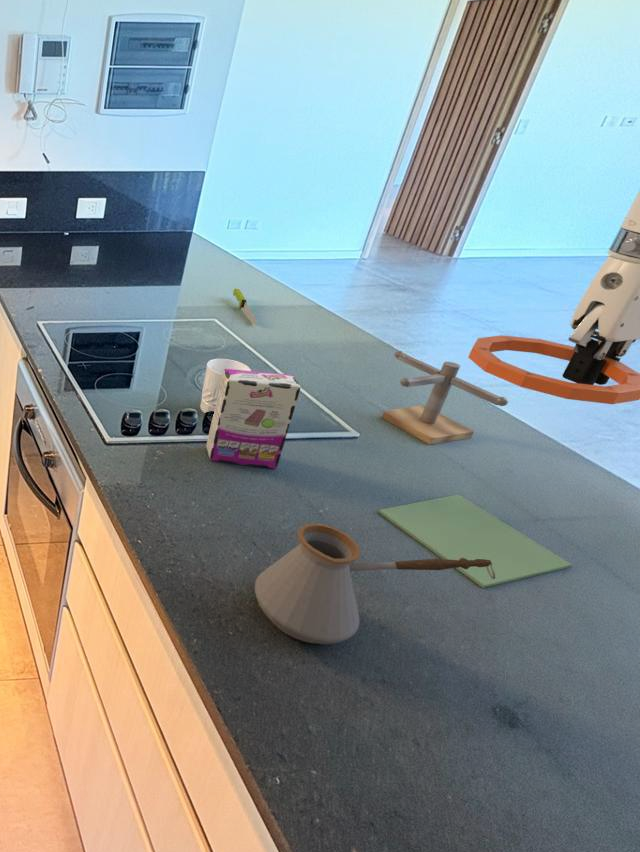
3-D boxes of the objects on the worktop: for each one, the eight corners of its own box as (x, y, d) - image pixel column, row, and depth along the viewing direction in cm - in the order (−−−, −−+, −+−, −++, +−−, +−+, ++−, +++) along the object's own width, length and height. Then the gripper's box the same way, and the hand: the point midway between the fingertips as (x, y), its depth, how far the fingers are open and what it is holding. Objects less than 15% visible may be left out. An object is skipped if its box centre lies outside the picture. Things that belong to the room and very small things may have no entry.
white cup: (226, 400, 128) (237, 357, 124) (247, 420, 121) (259, 375, 117) (190, 402, 128) (199, 359, 124) (208, 422, 121) (219, 377, 117)
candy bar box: (269, 454, 111) (294, 373, 104) (277, 470, 107) (303, 387, 100) (203, 445, 114) (223, 366, 106) (208, 461, 109) (229, 379, 102)
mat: (457, 496, 100) (458, 494, 100) (570, 567, 86) (572, 564, 86) (377, 512, 97) (378, 509, 97) (482, 588, 83) (484, 585, 83)
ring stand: (396, 398, 129) (420, 339, 123) (501, 453, 111) (535, 387, 105) (336, 407, 126) (357, 347, 120) (434, 465, 108) (465, 398, 102)
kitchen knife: (257, 331, 164) (260, 321, 162) (252, 331, 164) (255, 321, 163) (236, 296, 183) (238, 287, 181) (231, 296, 183) (234, 287, 181)
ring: (528, 341, 89) (533, 331, 88) (674, 394, 75) (681, 383, 74) (440, 352, 86) (444, 342, 85) (575, 410, 72) (581, 398, 71)
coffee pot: (253, 639, 76) (286, 547, 69) (245, 574, 85) (273, 487, 79) (464, 698, 69) (523, 601, 62) (430, 619, 78) (478, 529, 72)
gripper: (649, 260, 70) (571, 401, 78) (744, 252, 73) (660, 387, 81) (572, 243, 76) (508, 374, 84) (662, 236, 79) (592, 363, 88)
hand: (583, 380), depth 83 cm, fingers closed on ring, 1 cm apart
